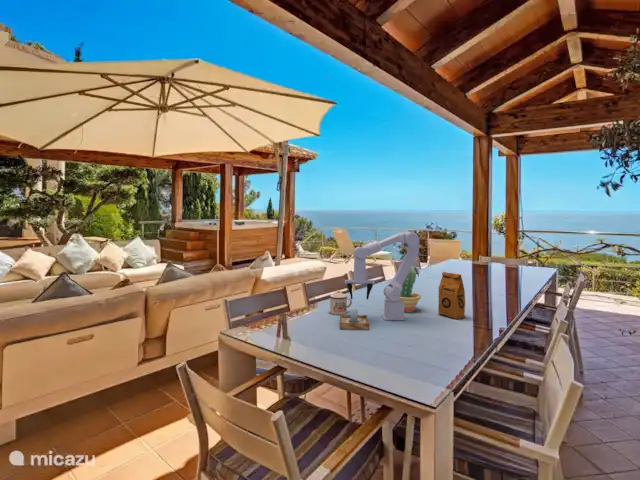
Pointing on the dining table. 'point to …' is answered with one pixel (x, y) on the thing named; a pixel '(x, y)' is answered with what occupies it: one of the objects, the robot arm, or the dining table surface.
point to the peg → (354, 316)
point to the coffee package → (451, 296)
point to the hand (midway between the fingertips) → (359, 299)
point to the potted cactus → (410, 291)
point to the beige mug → (339, 303)
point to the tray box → (361, 325)
